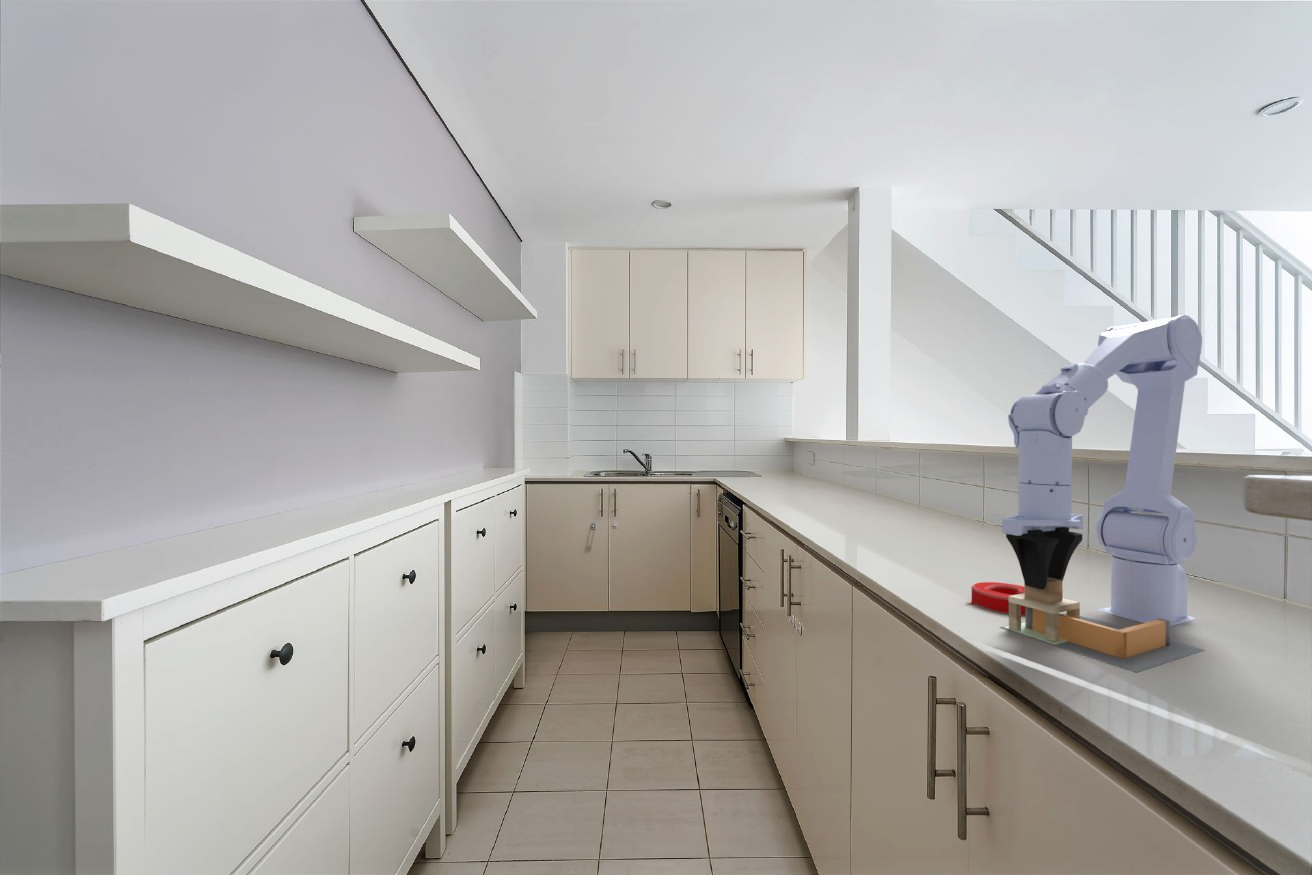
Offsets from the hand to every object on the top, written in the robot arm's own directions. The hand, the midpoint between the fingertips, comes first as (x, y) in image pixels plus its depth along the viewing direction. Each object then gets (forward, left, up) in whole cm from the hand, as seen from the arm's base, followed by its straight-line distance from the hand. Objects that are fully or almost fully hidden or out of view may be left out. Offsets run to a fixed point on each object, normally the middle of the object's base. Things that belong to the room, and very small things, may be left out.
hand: (1043, 585), depth 70 cm
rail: (-5, +3, -6) cm, 9 cm away
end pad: (0, 0, -7) cm, 7 cm away
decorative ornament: (-8, -9, -7) cm, 14 cm away
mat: (-5, +4, -7) cm, 9 cm away
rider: (0, 0, -6) cm, 6 cm away
